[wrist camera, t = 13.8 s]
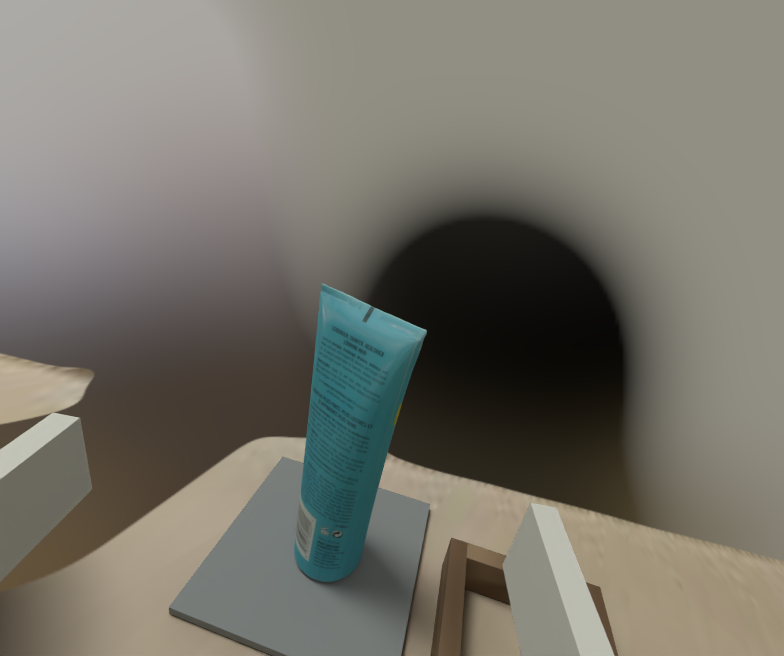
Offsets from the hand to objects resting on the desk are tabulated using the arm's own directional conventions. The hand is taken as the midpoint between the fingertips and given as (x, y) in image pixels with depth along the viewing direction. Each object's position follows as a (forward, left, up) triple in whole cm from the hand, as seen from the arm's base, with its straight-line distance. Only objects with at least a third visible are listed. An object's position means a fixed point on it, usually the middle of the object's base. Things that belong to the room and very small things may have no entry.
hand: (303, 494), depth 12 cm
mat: (-2, +11, -18) cm, 21 cm away
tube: (-2, +11, -17) cm, 21 cm away
